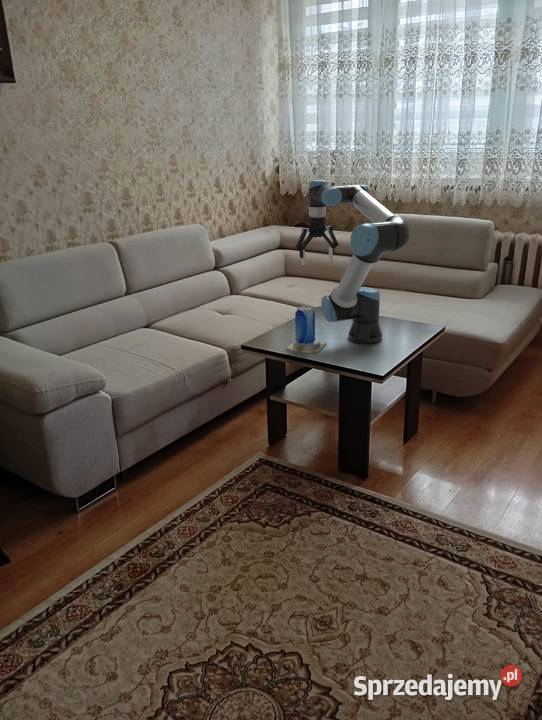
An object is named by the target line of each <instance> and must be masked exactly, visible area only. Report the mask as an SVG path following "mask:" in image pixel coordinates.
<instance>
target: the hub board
mask: <svg viewBox="0 0 542 720" xmlns="http://www.w3.org/2000/svg"><path fill="white" fill-rule="evenodd" d="M326 346H327V342H324V341H321V340H319V339H316V338H315V342H314V343H313V344H312V345H310V346H300V345H298V344H297V342H296V339H294V340H293V342H292V343H290V345H289V346H287V347H286V351H292V352H298V353H299V352H300V353H306V354H307V353H308V354H316V355H318V354H319V353H320V352H321V351H322V350H323V349H324V348H325V347H326Z"/></svg>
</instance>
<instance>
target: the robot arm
mask: <svg viewBox="0 0 542 720" xmlns="http://www.w3.org/2000/svg"><path fill="white" fill-rule="evenodd" d="M346 204H351V205H352V206H353V207H355V209H357V210H358V211H359V212H361V214H363V215H364V216H365V217H366V218H367V219H369V221H370V222H366V223H362V224H358V225H357V226H355V227H354V228H353V230H352V232H351V235H350V238H349V239H350V241H349V242H350V243H349V244H350V250H351V251H352V257H351V259H350V261H349V263H348V265H347V267H346V269H345V271H344V273H343V275H342V276H341V279H340V281H339V283H338V285H337V286H335V287H334V288H333V289H332V290H331V292H330V293H329V295H327V294H326V295H324V296H322V298H321V301H320V302H321V303H320V304H321V305H320V306H321V311H322V314H323V316H324V319H325V320H326V321H327V322H329V323H336V322H337V323H339V322H341V321H343V322H344V321H349V320H352V322H351V326H350V328H349V331H348V335H347V336H348V337H347V338H348V340H349V341H350V342H351V343H356V344H364V345H366V344H367V345H368V344H371V345H372V344H376V343H380V342H381V341H382V340H383V331H382V329H381V325H380V307H381V306H380V305H381V303H380V302H381V294H380V291H379V290H377V289H376V288H372V287H366V286H363V284H364V281H365V280H366V278H367V275H368V274H369V272H370V271H371V269H372V266H374V264H375V263H378V262H379V261H380V259H382V256H383V254H387V253H388V254H389V253H395V252H399V251H400V250H402V249H403V248H405V246H407V244H408V242H409V241H410V237H411V229H410V226H409V224H408V222H407V221H406V220H405V219H404V218H402V216H401V215H398V214H394V213H392V212H391V211H390V210H389V209H388V208H386V207H385V206H384V205H383V204H381V203H380V202H379V201H378V200H377V199H376V198H374V197H373V196H371V195H370V190H369V187H368V186H367V185H366V184H348V185H336V186H335V185H334V186H328V185H327V182H326V180H325V179H311V180H310V181H308V215H309V217H308V227H306V228H305V227H302V228H301V234H300V235H299V238H298V240H297V242H296V245H295V246H294V249H296V250H298V253H299V254H298V255H299V258H300V261H301V263H300V264H301V265H302V266H306V250H305V249H306V247H307V246H308V245H309V243H310V242H311V240H313V238H315V239H316V238H323V239H324V240H325V242H326V243H327V244H328V245H329V247H328V262H329V263H331V264H333V262H334V261H333V257H334V255H335V249H336V247H338V246H339V242H338V239H337V238H336V235H335V234H334V231H333V226H331V225H328V226H327V225H326V224H327V223H326V221H327V220H326V219H327V218H326V215H327V207H326V206H328V207H336V206H338V205H346ZM326 231H327V233H328V234H329V236H328V235H327V234H326ZM307 234H308V235H307ZM306 236H307V237H306ZM305 237H306V238H305ZM329 237H330V238H329Z"/></svg>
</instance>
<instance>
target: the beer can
mask: <svg viewBox="0 0 542 720" xmlns="http://www.w3.org/2000/svg"><path fill="white" fill-rule="evenodd" d="M294 315H295V317H294V318H295V319H294V321H295V323H294V326H295V327H294V328H295V330H294V331H295V333H294V334H295V340H296V342H297V344H298V345H300V346H310V345H312V344H313V343H314V342H315V339H316V311H315V310H314V307H313V306H309V305H300V306H298V307H297V310H296V311H295V313H294Z"/></svg>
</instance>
